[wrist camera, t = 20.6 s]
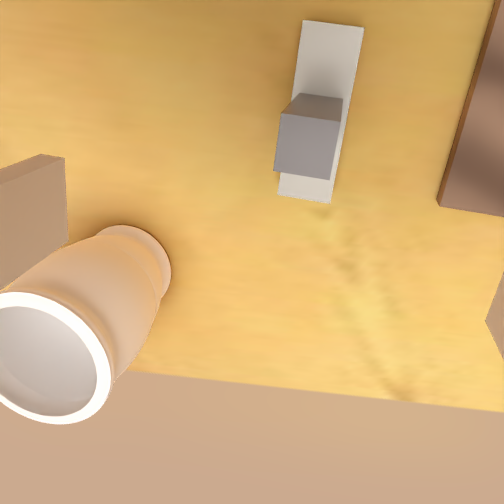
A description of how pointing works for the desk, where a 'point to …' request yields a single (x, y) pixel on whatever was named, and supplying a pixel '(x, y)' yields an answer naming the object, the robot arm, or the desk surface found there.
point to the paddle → (317, 110)
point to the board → (480, 133)
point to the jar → (79, 323)
